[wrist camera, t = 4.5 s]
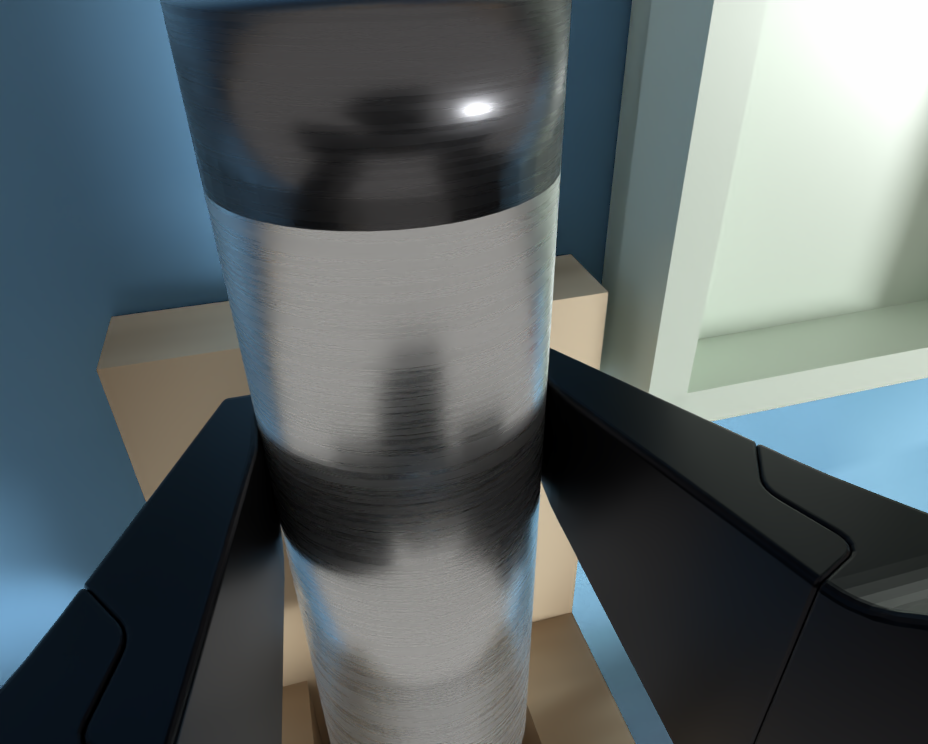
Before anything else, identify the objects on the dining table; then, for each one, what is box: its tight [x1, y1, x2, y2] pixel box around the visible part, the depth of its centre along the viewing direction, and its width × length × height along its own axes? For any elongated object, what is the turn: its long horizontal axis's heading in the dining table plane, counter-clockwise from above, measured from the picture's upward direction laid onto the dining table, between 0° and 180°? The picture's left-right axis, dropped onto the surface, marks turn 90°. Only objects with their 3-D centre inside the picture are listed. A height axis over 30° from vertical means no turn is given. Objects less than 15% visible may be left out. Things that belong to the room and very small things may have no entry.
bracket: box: [96, 254, 636, 744], centre depth 13 cm, size 8×13×6 cm, turn 1°
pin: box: [160, 0, 572, 744], centre depth 9 cm, size 3×11×3 cm, turn 1°
